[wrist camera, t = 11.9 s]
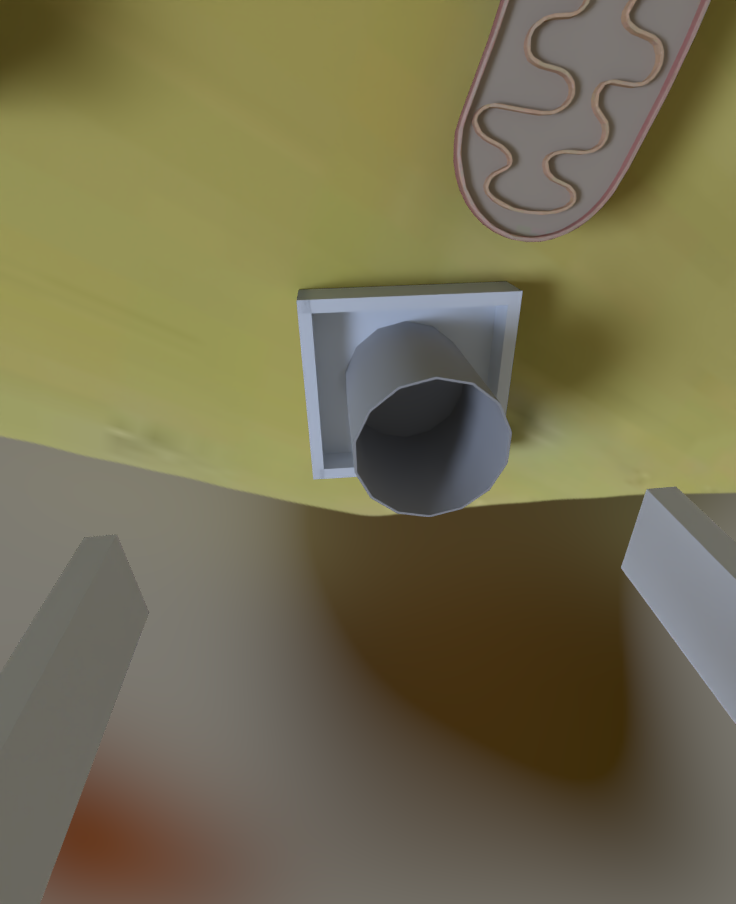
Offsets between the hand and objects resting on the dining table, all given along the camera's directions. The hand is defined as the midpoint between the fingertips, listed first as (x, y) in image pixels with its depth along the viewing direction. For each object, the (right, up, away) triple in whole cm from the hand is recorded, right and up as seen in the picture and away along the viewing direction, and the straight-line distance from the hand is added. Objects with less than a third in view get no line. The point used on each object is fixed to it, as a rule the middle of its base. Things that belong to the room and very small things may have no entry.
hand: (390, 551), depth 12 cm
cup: (+2, +8, +22) cm, 23 cm away
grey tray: (+2, +8, +22) cm, 24 cm away
